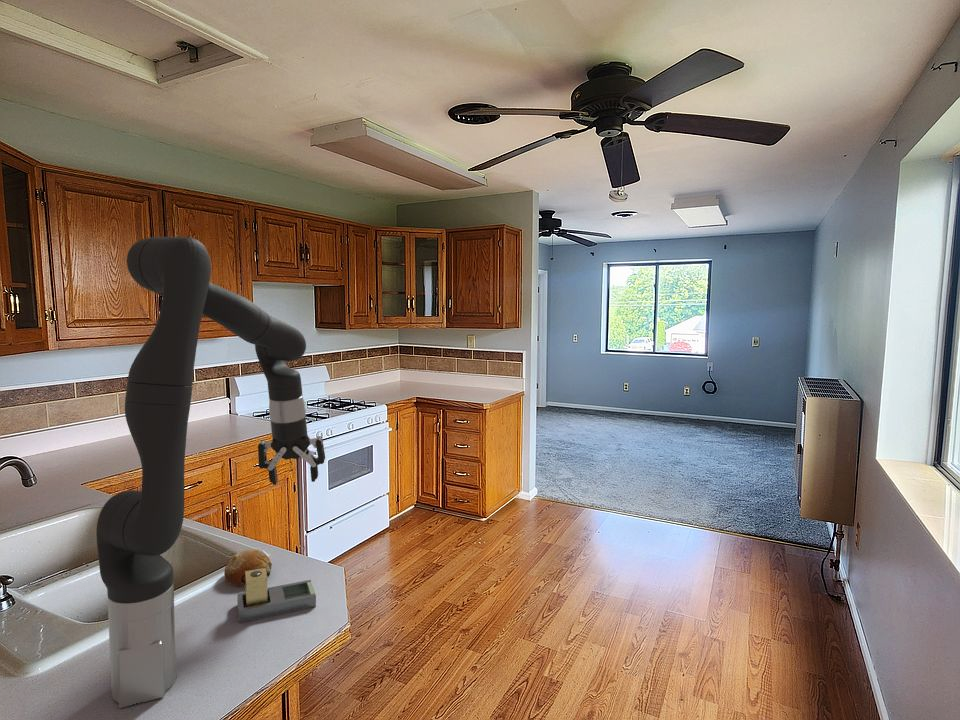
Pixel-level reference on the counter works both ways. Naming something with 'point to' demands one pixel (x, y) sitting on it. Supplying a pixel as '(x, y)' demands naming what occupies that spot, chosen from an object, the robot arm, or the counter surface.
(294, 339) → the robot arm
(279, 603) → the grey block holder
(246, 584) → the tall beige wooden block
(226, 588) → the counter surface
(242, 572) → the bread roll
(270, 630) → the counter surface
